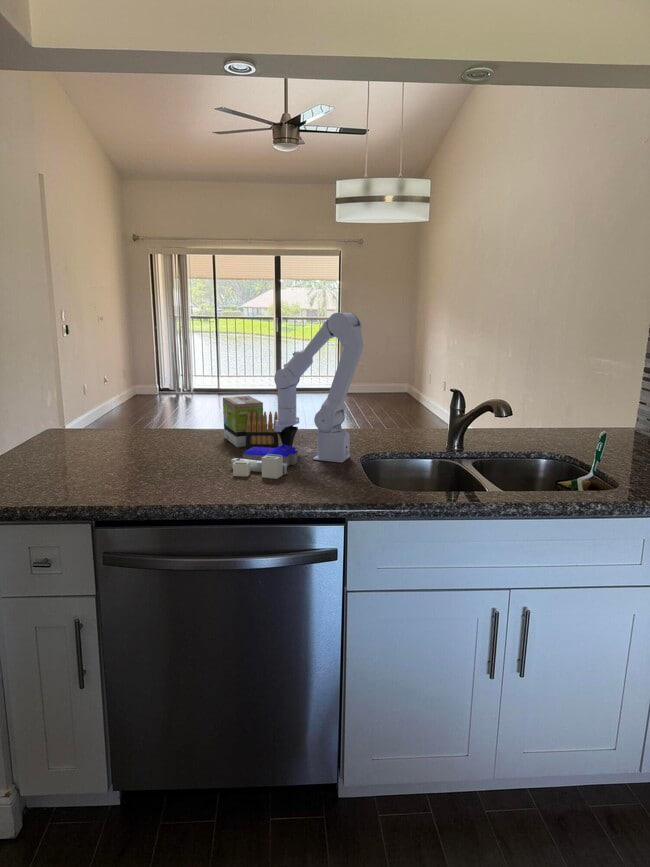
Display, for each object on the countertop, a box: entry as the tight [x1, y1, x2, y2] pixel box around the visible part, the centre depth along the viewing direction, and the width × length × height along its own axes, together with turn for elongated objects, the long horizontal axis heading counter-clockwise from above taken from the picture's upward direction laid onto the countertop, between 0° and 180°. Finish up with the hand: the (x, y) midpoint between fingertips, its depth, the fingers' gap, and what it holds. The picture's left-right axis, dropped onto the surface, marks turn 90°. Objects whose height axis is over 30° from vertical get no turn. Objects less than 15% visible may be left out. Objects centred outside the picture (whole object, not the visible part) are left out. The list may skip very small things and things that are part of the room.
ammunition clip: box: [245, 411, 280, 449], centre depth 190 cm, size 11×2×12 cm, turn 89°
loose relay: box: [232, 461, 251, 477], centre depth 160 cm, size 4×3×4 cm
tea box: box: [222, 395, 264, 448], centre depth 198 cm, size 15×10×15 cm, turn 26°
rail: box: [230, 457, 288, 476], centre depth 164 cm, size 16×2×3 cm, turn 70°
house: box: [241, 444, 299, 468], centre depth 174 cm, size 11×15×5 cm
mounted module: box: [261, 454, 284, 480], centre depth 159 cm, size 4×4×6 cm
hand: (287, 449), depth 184 cm, fingers closed
